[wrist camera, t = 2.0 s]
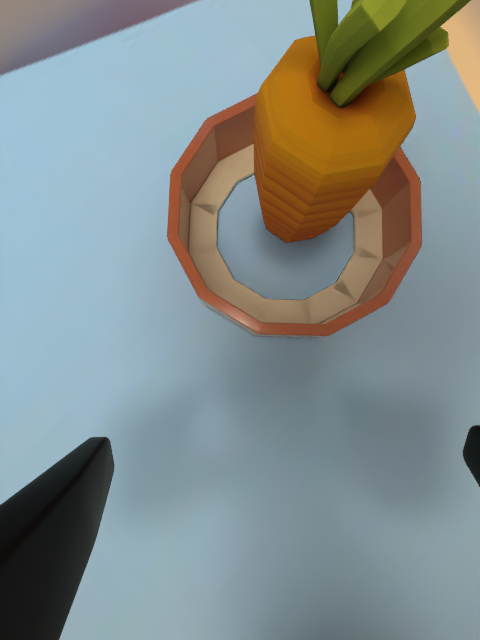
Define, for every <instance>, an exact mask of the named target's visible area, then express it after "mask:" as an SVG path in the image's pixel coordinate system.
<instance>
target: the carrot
mask: <svg viewBox="0 0 480 640" xmlns="http://www.w3.org/2000/svg"><path fill="white" fill-rule="evenodd" d="M469 1H470V0H353V2H352V6H351V9H350V11H349V12H348V13H347V15H346V16H345V17H344V18H343V20H342V21H341V22H340V24H339V25H338V8H337V0H310V6H311V11H312V17H313V23H314V29H315V35H316V36H311V37H304V38H301V39H297V40H295V41H294V42H293V43H292V45H291V46H290V47H289V49H288V50H287V51H286V53H285V54H284V55H283V57H282V58H281V60H280V61H279V62H278V64H277V65H276V66H275V68H274V69H273V70H272V72H271V73H270V74H269V76H268V77H267V79H266V80H265V81H264V83H263V84H262V85H261V87H260V89H259V92H258V94H257V96H256V101H255V115H254V174H255V179H256V184H257V189H258V194H259V200H260V205H261V210H262V215H263V220H264V223H265V226H266V229H267V230H269V231H270V232H271V233H272V234H274V235H275V236H277V237H278V238H280V239H281V240H283V241H284V242H286V243H289V242H295V241H300V240H306V239H312V238H314V237H316V236H318V235H320V234H322V233H324V232H326V231H327V230H329V229H330V228H332V227H334V226H335V225H336V224H337V223H338V222H339V221H340V220H341V219H342V218H343V217H344V216H345V215H346V214H347V213H348V212H349V211H350V210H351V209H352V208H353V207H354V206H355V205H356V204H357V203H358V202H359V201H360V199H361V198H362V197H363V196H364V195H365V194H366V193H367V192H368V190H369V189H370V188H371V187H372V186H373V185H374V184H375V182H376V181H377V180H378V178H379V177H380V175H381V174H382V172H383V171H384V169H385V168H386V166H387V165H388V163H389V162H390V160H391V159H392V158H393V156H394V155H395V153H396V152H397V150H398V149H399V147H400V146H401V144H402V143H403V141H404V140H405V138H406V137H407V136H408V134H409V132H410V131H411V129H412V128H413V125H414V122H415V119H416V114H415V110H414V106H413V102H412V98H411V94H410V90H409V86H408V82H407V78H406V74H405V70H404V69H406V68H408V67H410V66H412V65H414V64H416V63H418V62H420V61H422V60H424V59H426V58H428V57H430V56H432V55H434V54H436V53H438V52H440V51H442V50H445V49H446V48H447V47H448V46H449V42H448V32H447V31H445V30H444V29H442V28H441V27H440V26H441V25H442V24H444V23H445V22H446V21H447V20H448V19H450V18H451V17H452V16H453V15H454V14H455V13H456V12H458V11H459V10H460V9H461V8H462V7H464V6H465V5H466V4H467V3H468V2H469Z"/></svg>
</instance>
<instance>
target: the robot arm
mask: <svg viewBox="0 0 480 640" xmlns="http://www.w3.org/2000/svg"><path fill="white" fill-rule="evenodd" d="M463 458H464V460H465V462H466V464H467V466H468V468H469V469H470V471H471V473H472V474H473V476H474V478H475V480H476V481H477V483H478V485H479V486H480V425H475V426H472V427H471V428H470V429H469V432H468V435H467V439H466V442H465V445H464V449H463ZM113 473H114V460H113V454H112V449H111V444H110V440H109V438H107V437H92V438H89V439H88V440H86V441H85V442H84V443H82V444H81V445H80V446H78V447H77V448H76V449H74V450H73V451H72V452H70V453H69V454H68V455H66V456H65V457H64V458H62V459H61V460H60V461H58V462H57V463H56V464H54V465H53V466H52V467H50V468H49V469H48V470H46V471H45V472H44V473H42V474H41V475H40V476H38V477H37V478H36V479H34V480H33V481H32V482H30V483H29V484H28V485H26V486H25V487H24V488H22V489H21V490H20V491H18V492H17V493H16V494H14V495H13V496H12V497H10V498H9V499H8V500H6V501H5V502H4V503H3V504H1V505H0V640H59V638H60V636H61V633H62V630H63V627H64V625H65V622H66V619H67V617H68V614H69V611H70V609H71V606H72V603H73V601H74V598H75V595H76V592H77V590H78V587H79V584H80V582H81V579H82V576H83V574H84V571H85V568H86V566H87V563H88V560H89V557H90V555H91V552H92V549H93V546H94V543H95V540H96V537H97V534H98V530H99V526H100V523H101V519H102V515H103V511H104V507H105V504H106V500H107V496H108V492H109V488H110V485H111V481H112V477H113Z"/></svg>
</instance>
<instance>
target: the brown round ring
mask: <svg viewBox="0 0 480 640" xmlns="http://www.w3.org/2000/svg"><path fill="white" fill-rule="evenodd" d="M257 94H258V93H257ZM257 94H255V95H253V96H251V97H249V98H247V99H245V100H243V101H241V102H239V103H237V104H235V105H233V106H231V107H229V108H227V109H225V110H223V111H221V112H219V113H217V114H215V115H213V116H211V117H209V118H207V120H205V122H204V123H203V125H202V126H201V128H200V129H199V131H198V132H197V134H196V135H195V137H194V138H193V140H192V141H191V143H190V144H189V146H188V147H187V149H186V150H185V152H184V153H183V155H182V156H181V158H180V159H179V161H178V162H177V163H176V165H175V166H174V168H173V169H172V171H171V174H170V190H169V210H168V229H167V237H168V241H169V243H170V245H171V246H172V248H173V250H174V252H175V254H176V256H177V258H178V260H179V261H180V263H181V265H182V267H183V269H184V271H185V273H186V275H187V276H188V278H189V280H190V282H191V284H192V286H193V288H194V290H195V291H196V293H197V295H198V297H199V298H200V299H201V301H202V302H203V303H204V304H205V306H206V307H208V308H209V309H211V310H212V311H214V312H216V313H217V314H219V315H221V316H222V317H224V318H225V319H227V320H229V321H230V322H232V323H234V324H235V325H237V326H238V327H240V328H242V329H243V330H245V331H247V332H248V333H250V334H251V335H253V336H256V337H287V338H317V337H324V336H329V335H331V334H333V333H335V332H337V331H339V330H340V329H342V328H344V327H346V326H348V325H350V324H351V323H353V322H355V321H357V320H359V319H361V318H362V317H364V316H366V315H368V314H370V313H372V312H373V311H375V310H377V309H379V308H381V307H382V306H384V305H386V304H387V303H388V302H389V301H390V300H391V298H392V296H393V295H394V293H395V291H396V289H397V288H398V286H399V284H400V283H401V281H402V279H403V277H404V276H405V274H406V272H407V270H408V269H409V267H410V265H411V264H412V262H413V260H414V258H415V257H416V255H417V253H418V251H419V250H420V248H421V245H422V226H421V181H419V180H420V178H419V177H418V175H417V173H416V172H415V170H414V169H413V167H412V165H411V164H410V162H409V160H408V159H407V157H406V156H405V154H404V152H403V151H402V149H401V147H399V149H398V150H397V152H396V153H395V155H394V156H393V158H392V159H391V160H390V162H389V163H388V165H387V166H386V168H385V169H384V171H383V172H382V174H381V175H380V177H379V178H378V180H377V181H376V182H375V184H374V185H373V186H372V187H371V188H370V189H369V190H368V192H367V193H366V194H365V195H364V196H363V197H362V198H361V199H360V201H359V202H358V203H357V204H356V205H355V206H354V207H353V208H352V209H351V210H350V211H351V213H352V215H353V217H354V253H353V255H352V256H351V258H350V260H349V261H348V263H347V265H346V266H345V268H344V270H343V271H342V273H341V275H340V276H339V278H338V280H337V281H336V283H335V284H333V285H331V286H329V287H327V288H325V289H323V290H322V291H320V292H318V293H316V294H314V295H312V296H310V297H309V298H307V299H305V300H282V299H265V298H263V297H262V296H260V295H259V294H257V293H255V292H254V291H252V290H250V289H249V288H247V287H245V286H244V285H242V284H240V283H239V282H237V281H236V280H234V279H233V277H232V275H231V273H230V272H229V270H228V268H227V266H226V264H225V262H224V261H223V259H222V257H221V255H220V253H219V251H218V250H217V248H216V247H217V220H218V212H219V210H220V208H221V207H222V205H223V204H224V202H225V201H226V199H227V198H228V196H229V195H230V193H231V191H232V190H233V188H234V187H235V185H236V184H237V183H238V182H240V181H242V180H244V179H246V178H248V177H250V176H252V175H254V115H255V101H256V96H257Z"/></svg>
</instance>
